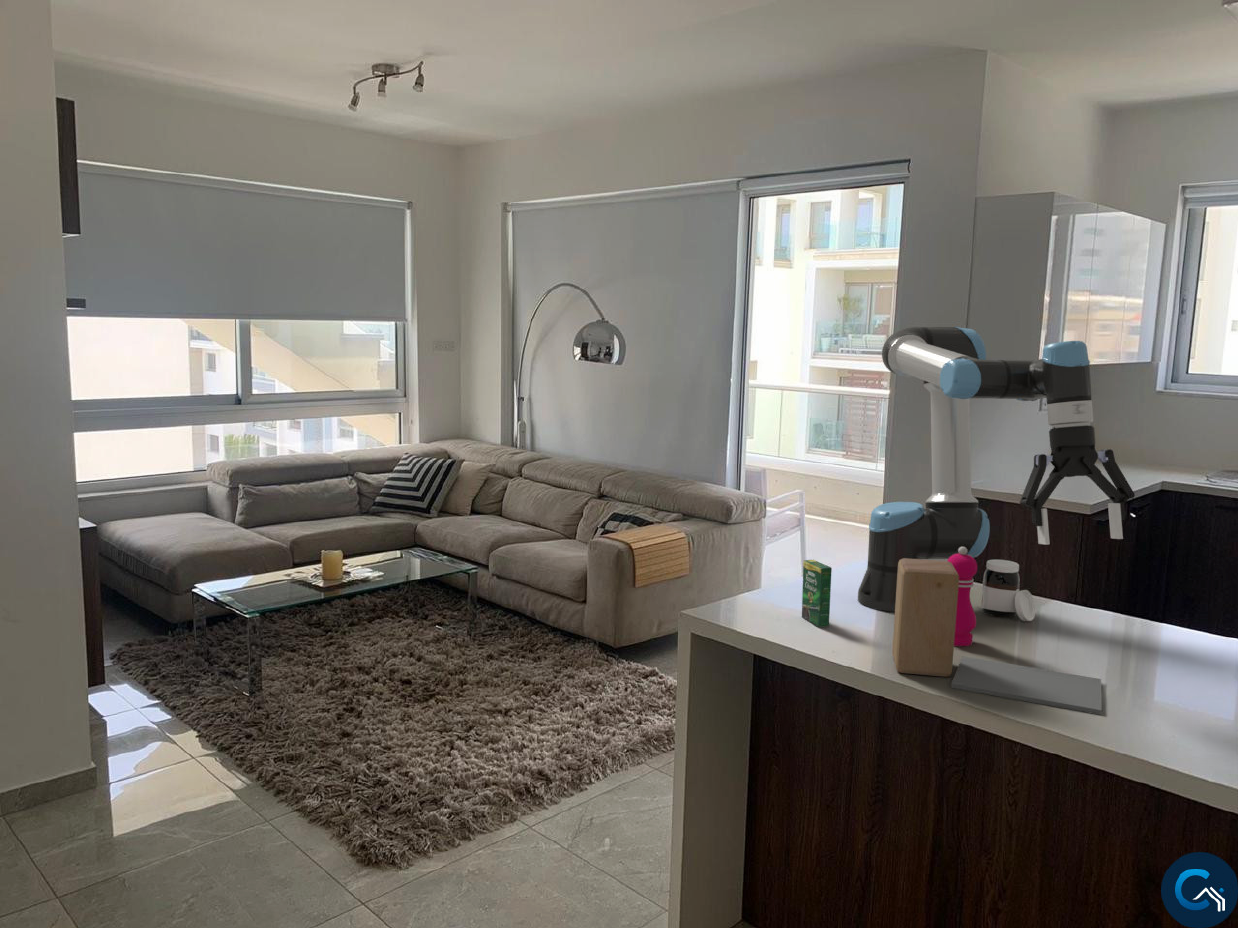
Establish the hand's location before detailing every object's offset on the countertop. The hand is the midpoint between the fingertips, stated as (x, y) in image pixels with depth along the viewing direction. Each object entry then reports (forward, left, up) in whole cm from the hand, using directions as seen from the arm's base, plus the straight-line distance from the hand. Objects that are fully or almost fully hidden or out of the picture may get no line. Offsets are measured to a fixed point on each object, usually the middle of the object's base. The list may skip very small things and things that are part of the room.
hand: (1080, 541), depth 172 cm
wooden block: (+10, -25, -26) cm, 37 cm away
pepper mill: (-9, -21, -26) cm, 35 cm away
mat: (+10, -7, -26) cm, 28 cm away
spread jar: (-34, -13, -26) cm, 45 cm away
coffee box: (-7, -50, -26) cm, 57 cm away
